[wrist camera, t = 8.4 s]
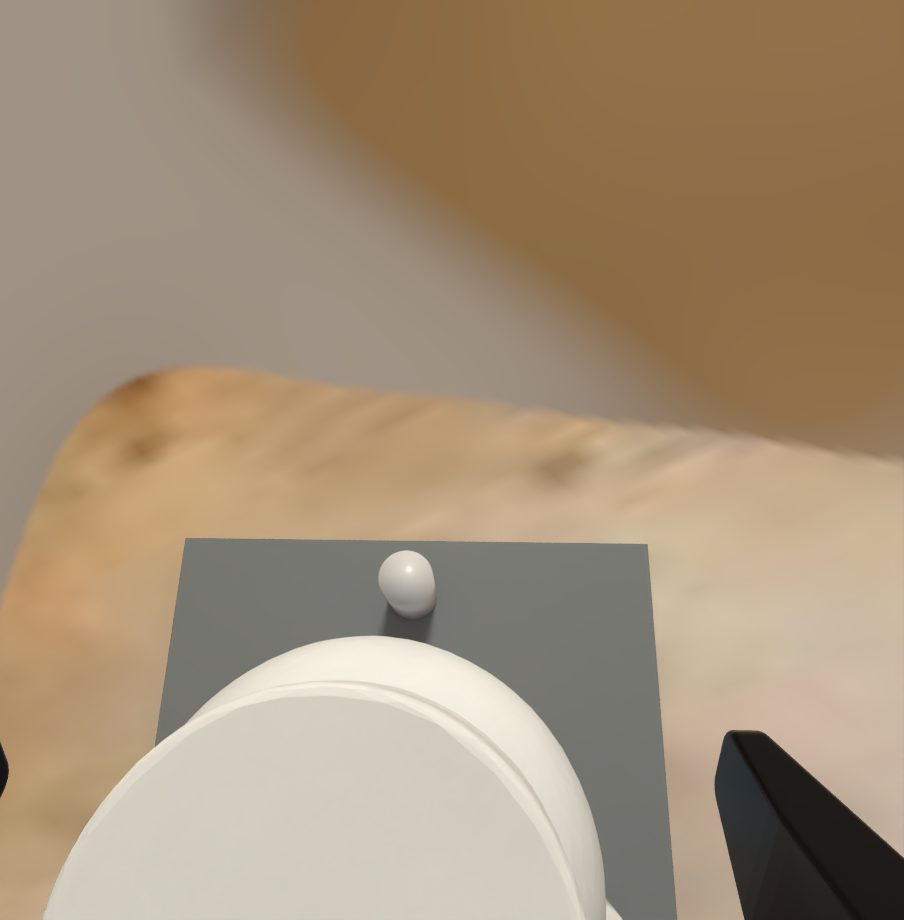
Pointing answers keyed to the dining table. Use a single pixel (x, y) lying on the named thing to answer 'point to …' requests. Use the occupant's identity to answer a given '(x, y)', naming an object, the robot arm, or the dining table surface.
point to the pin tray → (464, 654)
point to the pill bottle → (345, 802)
